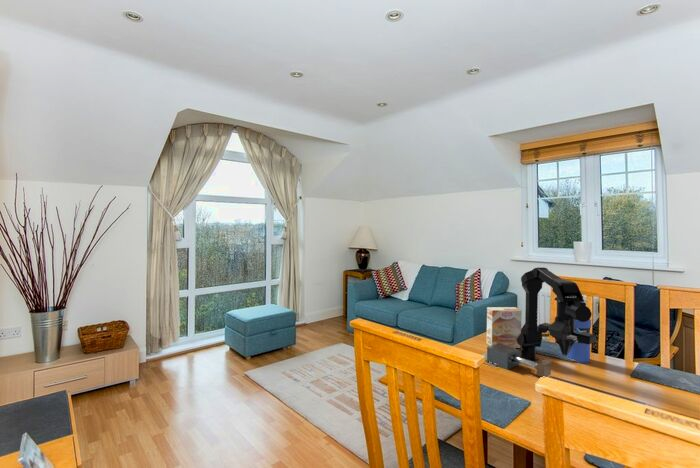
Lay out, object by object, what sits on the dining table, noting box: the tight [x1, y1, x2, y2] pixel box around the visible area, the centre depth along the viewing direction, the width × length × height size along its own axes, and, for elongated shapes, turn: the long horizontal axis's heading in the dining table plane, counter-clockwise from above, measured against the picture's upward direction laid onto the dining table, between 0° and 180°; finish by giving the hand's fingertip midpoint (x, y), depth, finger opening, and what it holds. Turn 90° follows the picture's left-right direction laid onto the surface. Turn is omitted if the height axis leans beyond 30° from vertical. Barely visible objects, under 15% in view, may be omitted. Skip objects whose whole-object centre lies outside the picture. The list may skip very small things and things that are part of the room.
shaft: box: [511, 355, 552, 378], centre depth 147 cm, size 5×18×5 cm, turn 33°
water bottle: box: [566, 318, 592, 364], centre depth 160 cm, size 9×9×25 cm
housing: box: [486, 343, 521, 371], centre depth 156 cm, size 9×10×7 cm
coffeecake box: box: [486, 306, 522, 348], centre depth 177 cm, size 15×7×20 cm, turn 91°
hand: (565, 355), depth 133 cm, fingers closed
